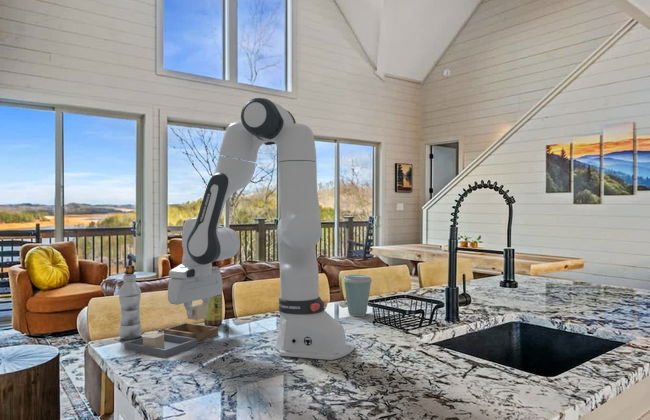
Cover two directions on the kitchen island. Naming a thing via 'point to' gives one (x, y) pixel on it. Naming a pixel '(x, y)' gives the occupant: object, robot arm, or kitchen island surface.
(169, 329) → the brown rectangular tray
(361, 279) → the disposable coffee cup
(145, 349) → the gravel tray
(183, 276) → the robot arm
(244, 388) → the kitchen island surface
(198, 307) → the cream matte cube
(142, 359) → the kitchen island surface
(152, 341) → the beige cube
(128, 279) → the plastic bottle
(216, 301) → the sauce bottle
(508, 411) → the kitchen island surface
